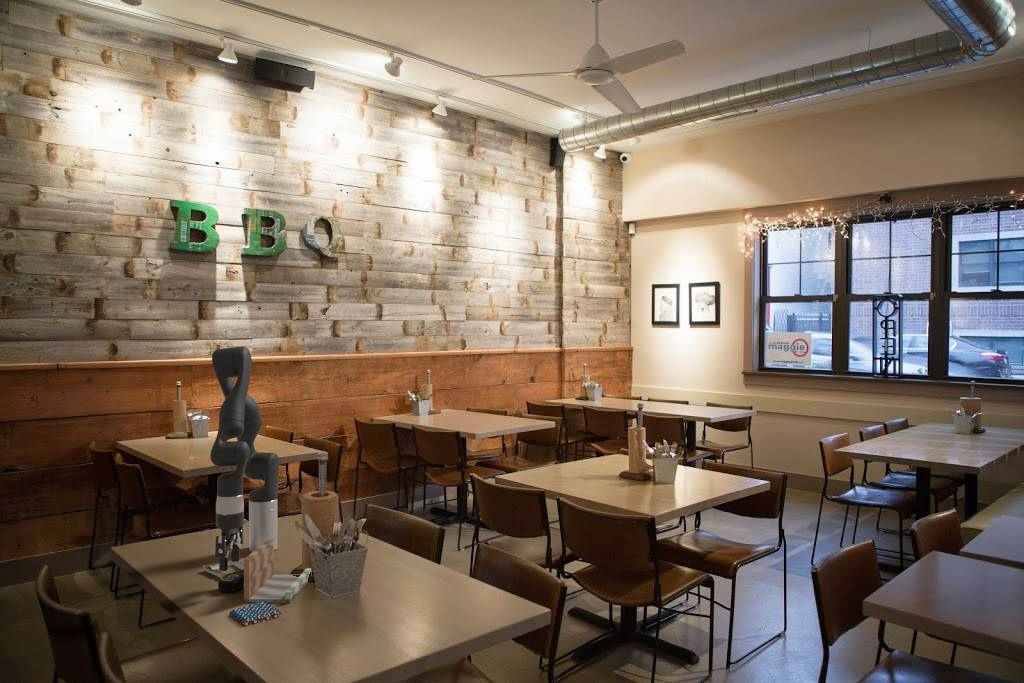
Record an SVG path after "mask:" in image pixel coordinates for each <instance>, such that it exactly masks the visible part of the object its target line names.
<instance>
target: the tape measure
mask: <svg viewBox="0 0 1024 683" xmlns="http://www.w3.org/2000/svg"><path fill="white" fill-rule="evenodd" d="M217 587H218V588H217V589H218V591H220V592H223V593H231V592H236V591H239V590H240V589H241V587H244V575H235V574H231V575H225V576H222V577H219V579H218V581H217Z"/></svg>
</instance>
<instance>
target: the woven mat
mask: <svg viewBox="0 0 1024 683" xmlns="http://www.w3.org/2000/svg"><path fill="white" fill-rule="evenodd" d="M228 614H229V615H230V616H229V617H231V618H233V619H234V620H236V621H237V622H239V623H240V624H242V626H244V627H248V626H249V625H250V626H251V625H253V624H257V623H261V622H263V623H264V622H266V621H269V620H273V619H277V618H278V617H281V615H282V612H281V611H280V609H278V608H276V607H274V605H273V606H272V604H271V603H266V601H264V602H260V603H253V604H249V605H246V606H245V605H244V606H242V607H238V608H233V609H232V610H230V611H229V613H228Z"/></svg>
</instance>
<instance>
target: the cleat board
mask: <svg viewBox="0 0 1024 683" xmlns="http://www.w3.org/2000/svg"><path fill="white" fill-rule="evenodd" d="M274 551H275V550H274V539H268V540H266V541H265V542H264V543H263V544H262V545H260V546H259V547H258V548H257V549H256V550H254V551H253V552H250V553H249V555H247V556H246V557H245V558H244V559H243V564H244V585H243V603H244V604H245V603H246V604H247V603H253V604H257V603H260V602H264V601H266V603H268V604H291V603H292V602H293V601H294V600H295V599H296V597H297V596H298V595H299V594H300V593H301V591H302V590H303V589H304V588H305V587H306V586H307V584H308V583H309V582H308V578H309V574H310V572H311V573H312V568H311V567H307V568H305V569H304V570H303V571H302V573H300V574H299V575H300V576H299V577H296V576H293V575H294V574H275V573H274V570H275V568H274V566H275V564H274V563H275V562H274V561H275V558H274V557H275V556H274Z"/></svg>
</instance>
